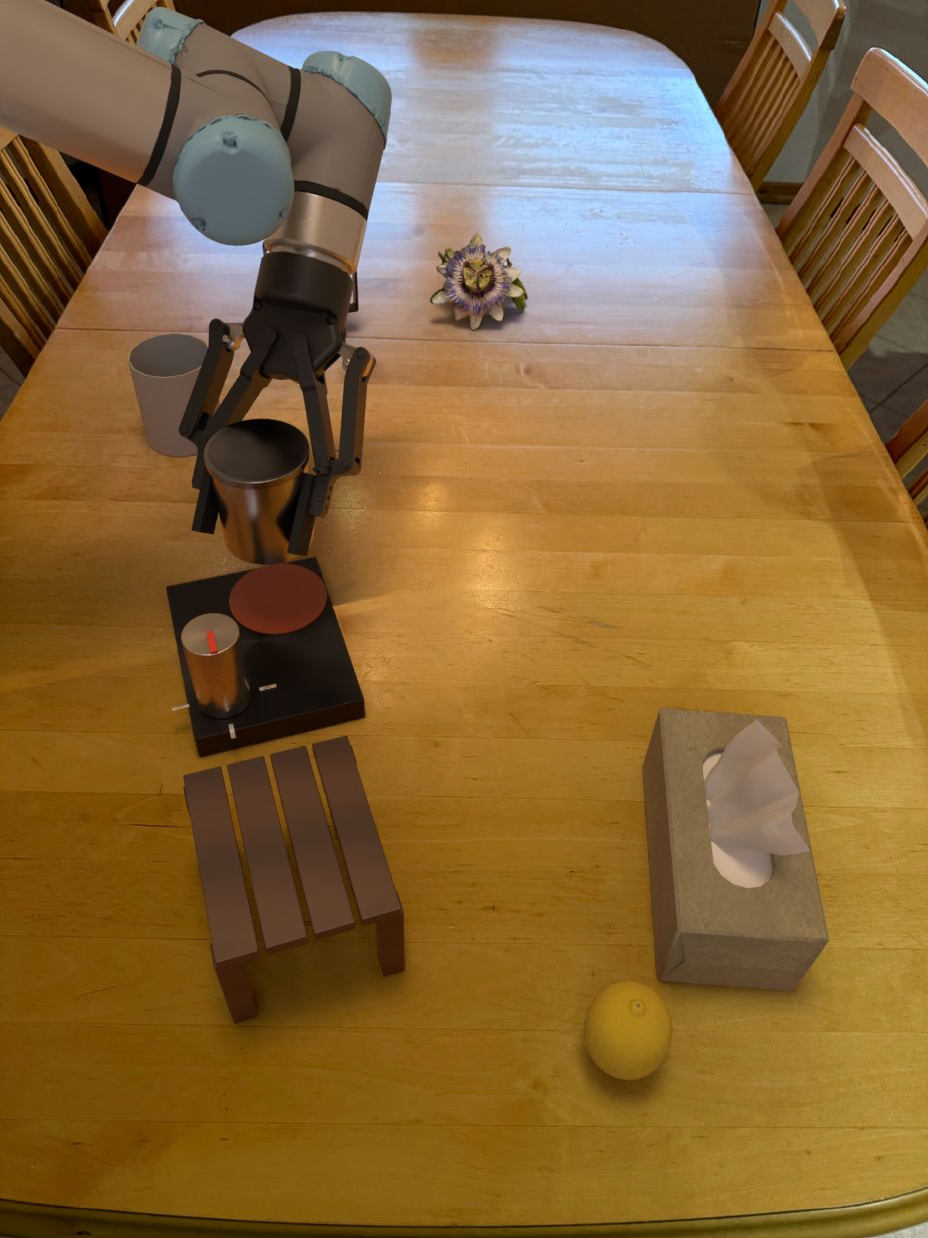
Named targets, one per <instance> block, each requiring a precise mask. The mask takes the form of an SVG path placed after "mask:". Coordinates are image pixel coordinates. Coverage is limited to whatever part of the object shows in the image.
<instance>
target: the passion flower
mask: <svg viewBox="0 0 928 1238" xmlns="http://www.w3.org/2000/svg"><path fill="white" fill-rule="evenodd" d="M486 248H487V246H486V245H485V243H484V239H483V237H482V236H481V234H479V233H478V232H476V233H475V234H473V236H471V239H470V240H469V243H468V244H467V245H466V246H462V247H461V249H460V250H458V249H457V250H456V249H454V248H451V247H449V246H447V247H446V248H444V254H443V253H442V252H441V251H440V250H438V251H437V255H438V257H439V258H440V261H441V264H439V265H437V266H436V267H435V268H436V271H437V272H438V273H439V274H440V275H441V276H442V277H444V278H445V279H446V280H445V281H444V282H443V284H442V287H441V289H440V288H439V289H437V291H435V292H434V293H433V294H432V295H431V296H430V298H429V303H430V304H433V305H442V304H445V303H450V304H451V305H452V316H453V320H454V322H455V323H457V322H460V321H462V320H463V319H464V320H465V319H466V320H467V322H468V326H469V328H470V330H471V331H475V330H476V329H478V328H479V327H480V325H481V322H482V320H483V317H484V316H485V315H486V314H488V315H489V316H490V317H491V319H493V320H494V321H497V322H499V323H500V322H501V321H502V320H503V318H504V313H505V312H504V305H506V302H505V300H506V299H507V298H508V299H509V298H510V300H511V301H512V302H513V303H514V305H515V307H516V309H517V311H518V312H519V313H523V312H524V310H525V309H526V306H527V303H526V301H528V299H529V296H528V293H527V291H526V288H525V286H524V284H523V281H521V279H520V278H519V277H520V276H521V273H522V272H521V270H520V269H519V268H517V267H515V266H513V263H512V261H511V259H510V258H509V256H511V253H512V248H511V247H510V246H505V247H500V248H498V249H496V250H495V251H492V252H491V251H490V250H487V251H486ZM452 255H453V256H452ZM505 262H506V265H505ZM512 266H513V267H512Z"/></svg>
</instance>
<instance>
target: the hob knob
mask: <svg viewBox="0 0 928 1238" xmlns="http://www.w3.org/2000/svg"><path fill="white" fill-rule="evenodd" d="M181 641H182V645H183V649H184V653H185V657H186V660H187V664H188V668H189V672H190V675H191V679H192V683H193V687H194V691H195V694H196V698H197V702H198V706H199V708H200V709H201V711H202V712H203V713H205V714H206V715H208V716H210V717H213V718H218V719H223V718H230V717H233V716H236V715H238V714H239V713H241V712H242V711H243V710H245V709H246V707H247V706H248V705H249V703H250V700H251V696H252V693H251V688H250V682H249V677H248V672H247V667H246V662H245V657H244V652H243V647H242V642H241V637H240V631H239V627H238V625H237V623H236V622H235V621H234V620H233V619H232V618H230V617H229V616H227V615H224V614H219V613H209V614H204V615H201V616H198V617H196V618H194V619H192V620H191V621H190V622H189V623H188V624H187V625H186V626H185V627H184V629H183V631H182V634H181Z"/></svg>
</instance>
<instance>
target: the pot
mask: <svg viewBox="0 0 928 1238" xmlns="http://www.w3.org/2000/svg"><path fill="white" fill-rule="evenodd" d="M310 446H311V445H310V441H309V440H308V438H307V436H306V434H305V433H304V432H303V431H302V430H301V429H299V428H298V427H297V426H295V425H293V424H292V423H289V422H286V421H283V420H279V419H275V418H274V419H273V418H263V417H261V418H248V419H243V420H242V421H239V422H236V423H233V424H230V425H228V426H226V427H224V428H222V429H221V430H219V431H218V432H216V433H215V434H214V435H213V436H212V437H211V438H210V439H209V441H208V442H207V444H206V446H205V449H204V460H205V465H206V468H207V470H208V471H209V473H210V474H211V475H212V481H213V486H214V491H215V496H216V501H217V506H218V511H219V513H218V516H219V520H220V525H221V530H222V537H223V540H224V544H225V547H226V548H227V550H228V551H229V552H230V554H232V555H233V556H234V557H235V558H237V559H238V560H240V561H243V562H245V563H247V564H251V565H257V566H258V565H259V566H267V565H273V564H281V563H286V562H290V561H292V560H293V559H294V560H295V559H296V558H297V557H299V556H300V555H294V554H290V553H287V550H288V545H289V541H290V536H291V532H292V527H293V522H294V518H295V513H296V509H297V504H298V499H299V495H300V490H301V486H302V481H303V477H304V473H309V461H310V458H311V447H310ZM314 538H315V526H314V527H313V531H312V536H311V540H310V545H309V547H310V546H311V544H312V543H313V541H314Z"/></svg>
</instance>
